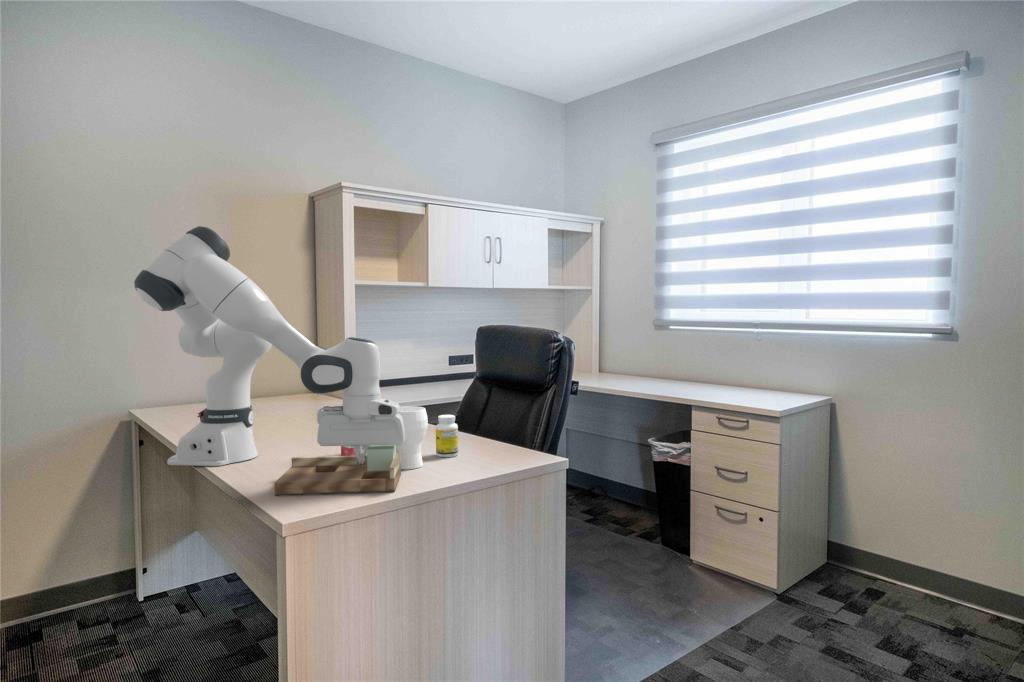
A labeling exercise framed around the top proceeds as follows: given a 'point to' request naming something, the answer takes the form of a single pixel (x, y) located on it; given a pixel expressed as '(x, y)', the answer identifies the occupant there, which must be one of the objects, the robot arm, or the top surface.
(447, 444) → the pill bottle
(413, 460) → the cup
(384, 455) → the block
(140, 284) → the robot arm
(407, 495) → the top surface
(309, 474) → the wooden tray
